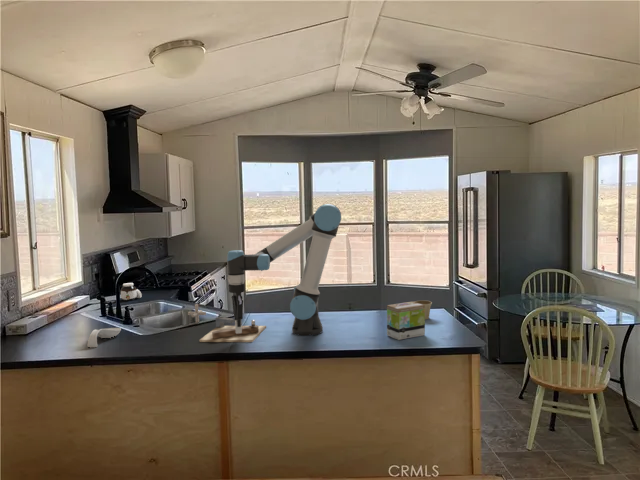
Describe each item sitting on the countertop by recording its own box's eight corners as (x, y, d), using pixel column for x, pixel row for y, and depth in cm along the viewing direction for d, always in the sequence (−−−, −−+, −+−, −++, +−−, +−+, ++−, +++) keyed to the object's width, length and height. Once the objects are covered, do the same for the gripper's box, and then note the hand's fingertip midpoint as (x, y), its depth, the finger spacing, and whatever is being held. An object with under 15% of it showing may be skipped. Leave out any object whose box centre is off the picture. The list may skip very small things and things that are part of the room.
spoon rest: (102, 334, 246) (101, 321, 246) (125, 333, 246) (124, 320, 246) (80, 348, 223) (78, 333, 222) (105, 347, 223) (104, 332, 222)
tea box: (399, 340, 214) (398, 308, 213) (386, 335, 223) (385, 304, 222) (425, 335, 221) (425, 304, 220) (412, 330, 230) (411, 300, 229)
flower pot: (434, 317, 253) (434, 301, 253) (428, 321, 246) (428, 304, 245) (418, 315, 258) (417, 299, 258) (411, 319, 251) (411, 303, 250)
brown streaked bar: (257, 329, 237) (256, 324, 237) (259, 332, 233) (259, 326, 232) (212, 336, 228) (211, 331, 228) (214, 339, 224) (213, 333, 223)
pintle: (255, 325, 234) (255, 320, 234) (254, 326, 233) (254, 321, 232) (252, 325, 235) (251, 320, 234) (251, 326, 233) (250, 321, 233)
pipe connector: (201, 325, 257) (200, 306, 256) (184, 324, 259) (183, 306, 258) (209, 320, 266) (208, 302, 265) (193, 320, 268) (192, 302, 267)
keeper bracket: (235, 328, 243) (234, 318, 243) (231, 329, 241) (230, 320, 240) (220, 325, 249) (219, 316, 249) (216, 327, 247) (215, 317, 246)
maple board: (266, 327, 246) (266, 325, 246) (252, 342, 221) (252, 339, 221) (218, 327, 250) (218, 325, 250) (199, 341, 225) (199, 339, 225)
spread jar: (119, 301, 332) (118, 284, 331) (128, 297, 343) (127, 281, 342) (135, 301, 330) (134, 284, 329) (144, 297, 341) (142, 281, 340)
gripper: (225, 282, 226) (227, 330, 228) (231, 286, 214) (234, 337, 216) (241, 280, 229) (243, 328, 231) (248, 284, 217) (250, 335, 219)
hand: (238, 332), depth 223 cm, fingers closed
